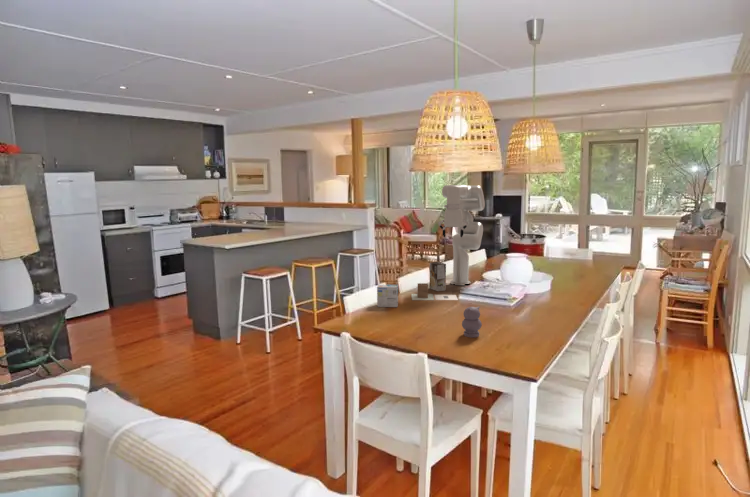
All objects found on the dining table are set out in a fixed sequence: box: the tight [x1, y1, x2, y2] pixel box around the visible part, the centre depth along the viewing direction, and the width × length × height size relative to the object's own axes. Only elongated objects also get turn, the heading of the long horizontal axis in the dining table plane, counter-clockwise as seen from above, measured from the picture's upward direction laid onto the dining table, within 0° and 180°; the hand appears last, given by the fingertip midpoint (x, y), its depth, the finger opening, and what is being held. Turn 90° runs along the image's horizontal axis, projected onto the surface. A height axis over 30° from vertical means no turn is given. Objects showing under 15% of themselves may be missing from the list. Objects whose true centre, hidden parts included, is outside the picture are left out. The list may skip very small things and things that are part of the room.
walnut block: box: [416, 282, 429, 298], centre depth 256 cm, size 6×6×7 cm
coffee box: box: [429, 261, 447, 292], centre depth 275 cm, size 9×6×16 cm
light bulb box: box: [376, 283, 399, 308], centre depth 239 cm, size 11×7×11 cm, turn 84°
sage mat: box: [410, 293, 435, 301], centre depth 257 cm, size 14×12×1 cm
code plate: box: [434, 294, 459, 301], centre depth 256 cm, size 12×12×1 cm
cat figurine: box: [461, 306, 483, 338], centre depth 192 cm, size 8×8×12 cm
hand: (452, 236), depth 266 cm, fingers open, 9 cm apart
